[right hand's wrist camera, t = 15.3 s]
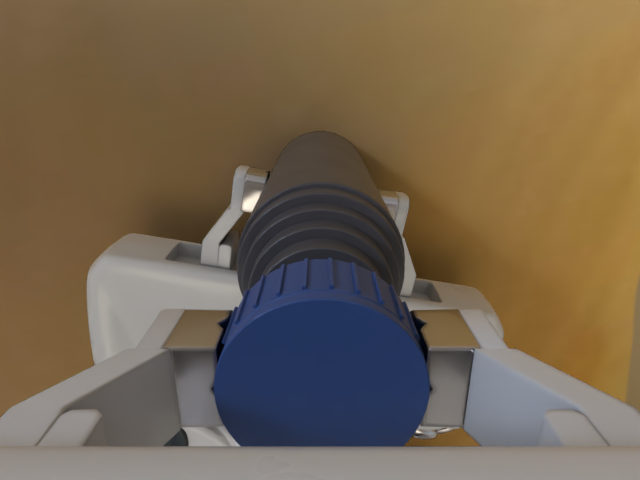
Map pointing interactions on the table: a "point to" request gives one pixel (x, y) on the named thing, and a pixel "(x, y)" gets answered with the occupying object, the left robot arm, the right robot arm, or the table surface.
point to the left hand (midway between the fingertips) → (322, 180)
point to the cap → (321, 361)
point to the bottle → (320, 214)
